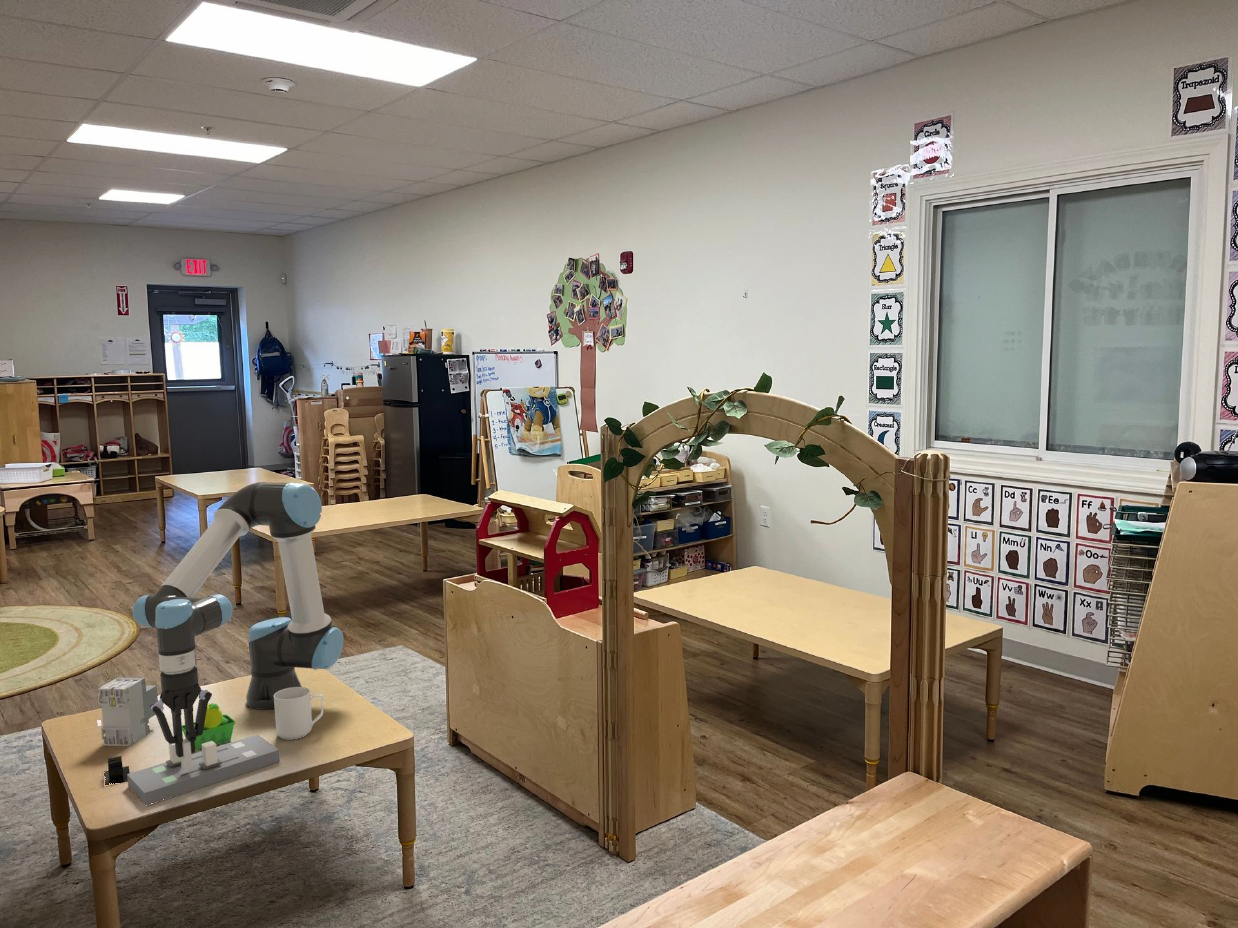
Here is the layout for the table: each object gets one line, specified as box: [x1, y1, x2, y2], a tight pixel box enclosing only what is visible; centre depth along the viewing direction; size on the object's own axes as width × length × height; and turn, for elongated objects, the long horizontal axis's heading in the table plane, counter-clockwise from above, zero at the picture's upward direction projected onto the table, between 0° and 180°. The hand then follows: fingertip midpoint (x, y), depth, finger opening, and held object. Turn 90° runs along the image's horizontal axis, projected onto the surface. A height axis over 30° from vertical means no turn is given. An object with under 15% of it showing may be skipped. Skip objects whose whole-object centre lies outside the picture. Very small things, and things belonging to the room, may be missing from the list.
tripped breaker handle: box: [199, 741, 222, 769], centre depth 208 cm, size 4×3×5 cm
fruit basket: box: [182, 702, 236, 752], centre depth 227 cm, size 11×9×11 cm
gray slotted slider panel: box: [127, 734, 281, 806], centre depth 211 cm, size 30×13×3 cm, turn 134°
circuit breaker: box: [97, 677, 159, 747], centre depth 234 cm, size 8×14×15 cm, turn 174°
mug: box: [274, 686, 324, 741], centre depth 233 cm, size 12×9×11 cm
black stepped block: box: [103, 755, 131, 785], centre depth 211 cm, size 12×7×5 cm, turn 30°
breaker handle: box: [165, 743, 181, 767], centre depth 209 cm, size 4×3×5 cm
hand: (187, 767), depth 205 cm, fingers closed
